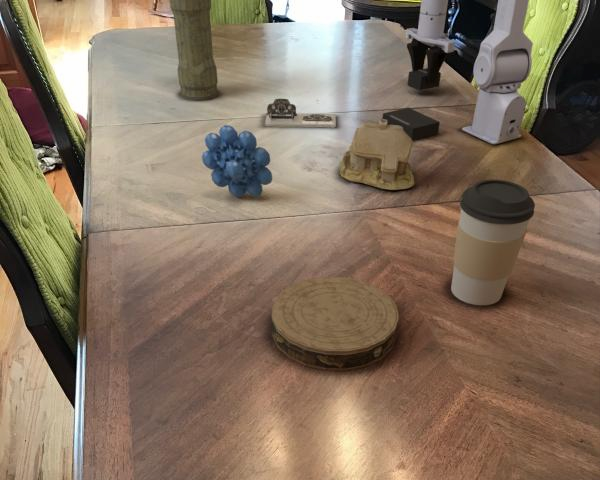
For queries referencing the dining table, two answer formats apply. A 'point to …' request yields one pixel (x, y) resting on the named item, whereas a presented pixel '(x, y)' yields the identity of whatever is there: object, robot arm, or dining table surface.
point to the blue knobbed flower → (237, 162)
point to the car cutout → (295, 116)
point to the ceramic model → (379, 157)
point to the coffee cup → (489, 239)
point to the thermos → (195, 49)
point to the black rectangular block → (421, 80)
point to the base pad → (413, 123)
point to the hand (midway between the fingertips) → (424, 79)
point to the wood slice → (334, 323)
